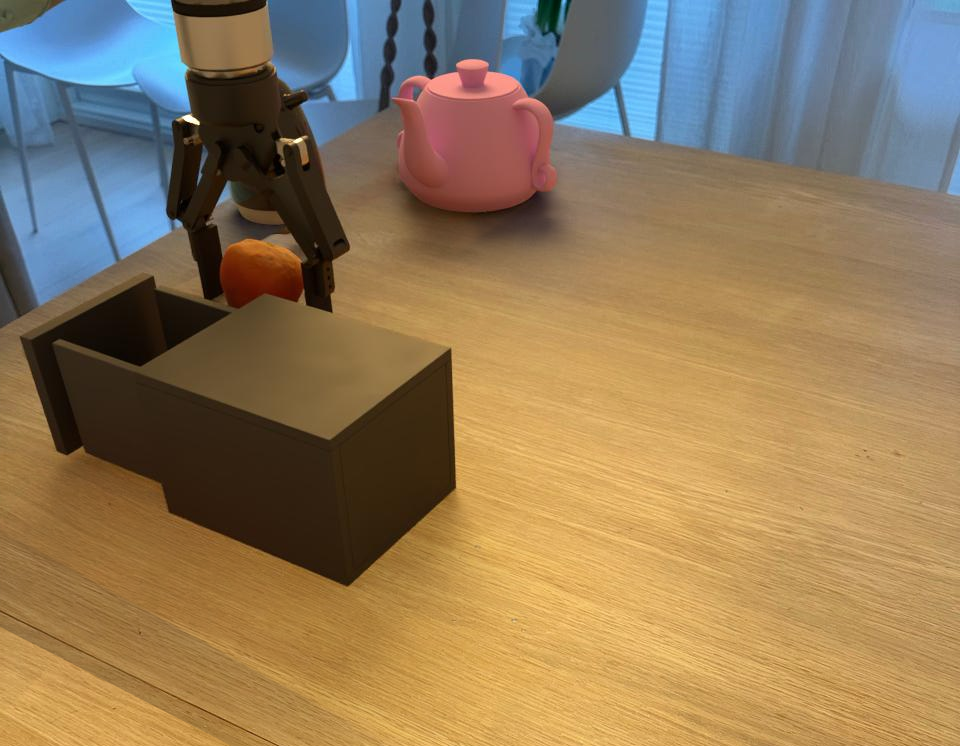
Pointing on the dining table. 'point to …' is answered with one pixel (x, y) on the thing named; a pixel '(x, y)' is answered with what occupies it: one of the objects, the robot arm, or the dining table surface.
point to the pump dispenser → (290, 127)
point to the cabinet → (302, 433)
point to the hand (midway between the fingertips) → (267, 310)
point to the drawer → (110, 366)
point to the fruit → (259, 272)
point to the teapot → (473, 140)
